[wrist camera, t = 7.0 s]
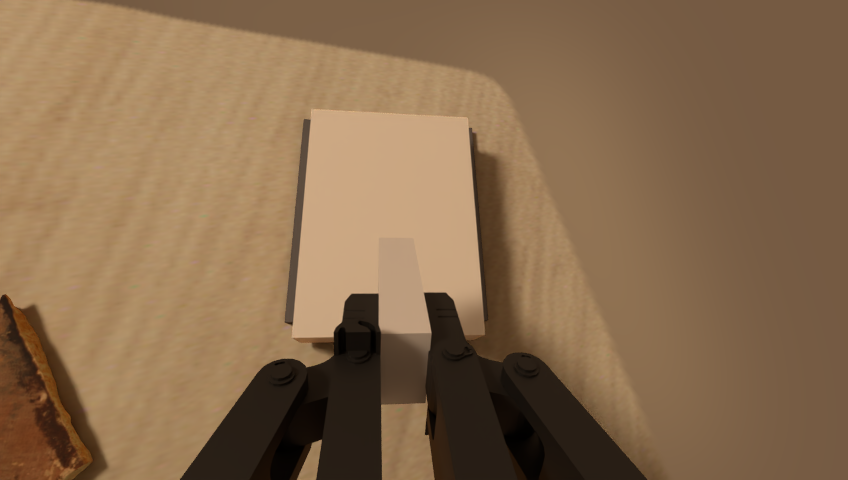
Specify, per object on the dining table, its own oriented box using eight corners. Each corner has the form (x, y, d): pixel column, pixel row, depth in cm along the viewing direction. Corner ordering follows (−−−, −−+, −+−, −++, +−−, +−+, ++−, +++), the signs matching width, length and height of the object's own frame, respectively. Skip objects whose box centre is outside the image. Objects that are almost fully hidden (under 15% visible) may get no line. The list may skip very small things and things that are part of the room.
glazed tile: (291, 337, 20) (311, 108, 24) (300, 343, 22) (317, 134, 27) (485, 334, 21) (467, 117, 26) (473, 340, 23) (459, 141, 28)
